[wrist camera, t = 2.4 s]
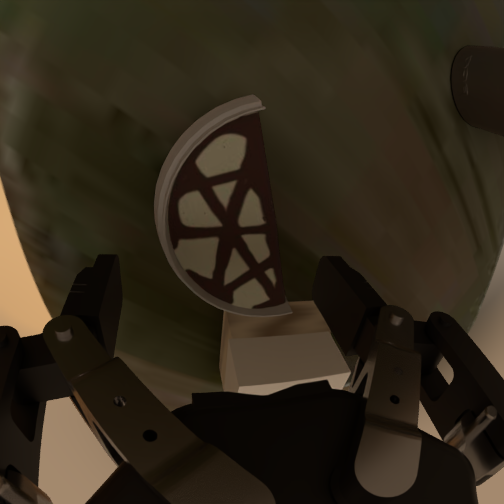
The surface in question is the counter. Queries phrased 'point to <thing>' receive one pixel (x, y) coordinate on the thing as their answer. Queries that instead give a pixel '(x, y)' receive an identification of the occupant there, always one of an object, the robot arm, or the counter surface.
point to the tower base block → (270, 326)
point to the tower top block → (283, 363)
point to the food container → (222, 212)
